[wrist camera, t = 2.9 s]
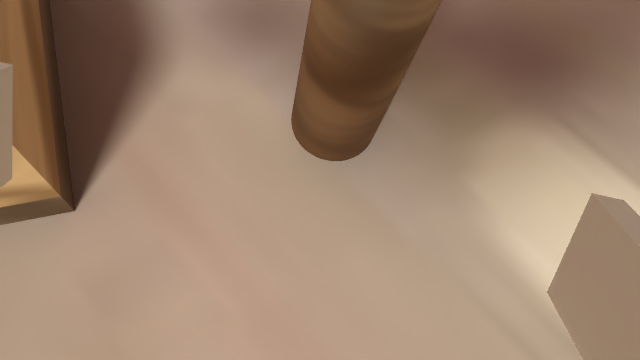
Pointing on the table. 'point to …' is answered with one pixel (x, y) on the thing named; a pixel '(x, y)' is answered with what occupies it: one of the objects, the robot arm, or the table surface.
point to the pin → (353, 70)
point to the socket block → (34, 115)
